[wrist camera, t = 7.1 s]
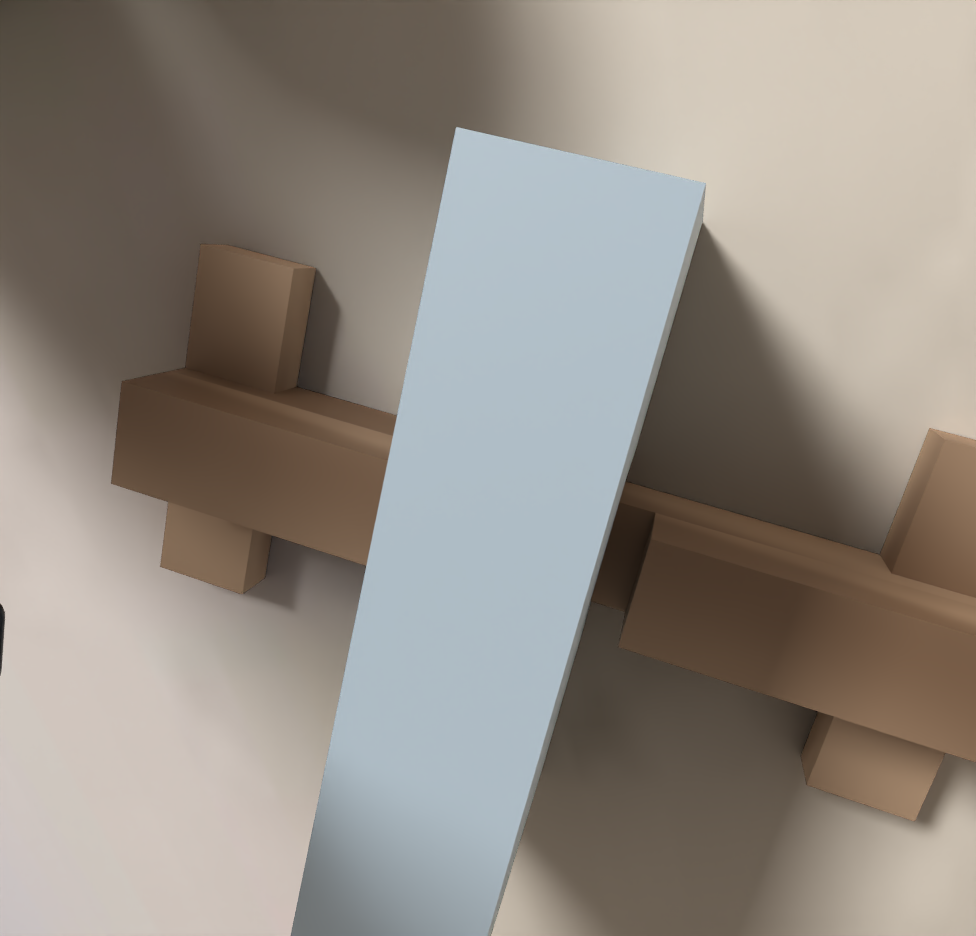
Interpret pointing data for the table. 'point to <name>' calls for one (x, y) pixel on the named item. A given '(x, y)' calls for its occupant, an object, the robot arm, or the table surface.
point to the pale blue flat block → (491, 526)
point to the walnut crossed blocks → (629, 552)
